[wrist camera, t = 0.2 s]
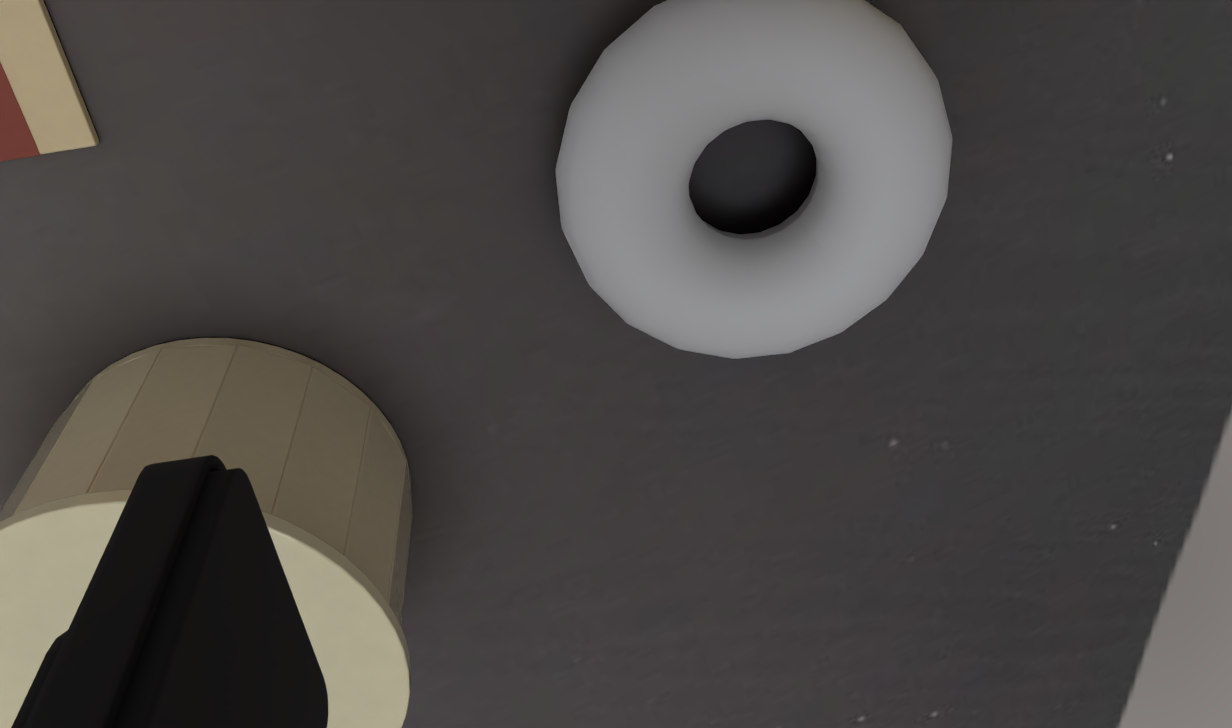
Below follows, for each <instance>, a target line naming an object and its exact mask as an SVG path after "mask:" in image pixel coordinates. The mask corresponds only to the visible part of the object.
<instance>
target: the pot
mask: <svg viewBox="0 0 1232 728" xmlns="http://www.w3.org/2000/svg"><path fill="white" fill-rule="evenodd" d="M208 455H214V456H217V457H218V458H219V459H220V460H221V461H222V462H223V463H224V465H225V467H226V469H227V470H228V469H234V468H240V469H243V470H244V471H245V473H246V474H247V476H248V478H249V480H250V482H251V485H252V487H253V490H254V493H255V495H256V498H257V501H258V503H259V506H260V509H261V510H262V511H264V512H267V513H269V514H271V515H274V516H276V517H279V518H281V519H284V520H286V521H288V522H291V523H293V524H295V525H296V526H298V527H300V528H302V529H304V530H306V531H307V532H309V533H311V534H313V535H315V536H317V537H318V538H320V539H321V540H323V541H324V542H326V543H327V544H329V545H330V546H331V547H333V548H334V549H336V550H337V551H339V552H340V553H342V554H343V555H344V556H345V557H346V558H348V559H349V560H350V561H351V562H352V563H353V564H354V565H355V566H357V567H358V568H359V569H360V570H361V571H362V572H363V573H364V574H365V575H366V576H367V577H368V578H369V579H370V581H371V582H372V583H373V584H374V585H375V586H376V588H377V589H378V590H379V591H380V592H381V593H382V595H383V596H384V598H385V599H386V601H387V603H388V604H389V606H390V607H391V609H392V611H393V612H394V614H395V615H396V617H397V620H398V622H399V625H400V626H401V617H402V608H403V598H404V589H405V580H406V571H407V561H408V552H409V543H410V533H411V524H412V515H413V509H412V501H411V476H410V471H409V466H408V461H407V458H406V455H405V453H404V450H403V447H402V445H401V442H400V440H399V438H398V437H397V435H396V433H395V431H394V429H393V428H392V426H391V424H390V423H389V422H388V420H387V419H386V418H385V416H384V415H383V414H382V412H381V411H380V410H379V408H378V407H377V406H376V405H375V404H374V403H373V402H372V401H371V400H370V399H369V398H368V397H367V396H366V395H365V394H364V393H363V392H362V391H361V390H359V389H358V388H357V387H356V386H354V385H353V384H352V383H351V382H349V381H348V380H347V379H345V378H344V377H342V376H341V375H339V374H338V373H336V372H334V371H333V370H331V369H329V368H328V367H326V366H325V365H323V364H320V363H318V362H316V361H314V360H312V359H310V358H308V357H306V356H303V355H301V354H298V353H295V352H292V351H289V350H287V349H284V348H281V347H277V346H273V345H269V344H264V343H260V342H256V341H249V340H241V339H232V338H196V339H186V340H178V341H173V342H169V343H164V344H159V345H155V346H152V347H149V348H147V349H144V350H141V351H138V352H135V353H132V354H131V355H129V356H127V357H125V358H123V359H121V360H119V361H117V362H115V363H113V364H111V365H110V366H109V367H107V368H106V369H104V370H103V371H101V372H100V373H99V374H97V375H96V376H95V377H94V378H93V379H91V380H90V381H89V382H88V383H87V384H86V385H85V386H84V387H83V388H82V389H81V390H80V391H79V393H78V394H77V395H76V397H75V398H74V399H73V401H72V402H71V404H70V405H69V406H68V408H67V409H66V410H65V411H64V412H63V413H62V415H61V416H60V417H59V418H58V419H57V420H56V422H55V423H54V425H53V427H52V428H51V430H50V432H49V433H48V435H47V437H46V438H45V440H44V442H43V443H42V445H41V446H40V448H39V450H38V451H37V453H36V455H35V456H34V458H33V460H32V461H31V463H30V465H29V466H28V468H27V469H26V471H25V473H24V474H23V476H22V478H21V479H20V481H19V483H18V484H17V486H16V488H15V489H14V491H13V493H12V494H11V496H10V497H9V499H8V501H7V502H6V504H5V506H4V507H3V509H2V511H1V512H0V522H1V521H3V520H5V519H7V518H9V517H11V516H13V515H15V514H17V513H19V512H21V511H23V510H26V509H29V508H32V507H35V506H38V505H41V504H43V503H46V502H49V501H52V500H56V499H61V498H66V497H70V496H75V495H80V494H84V493H92V492H101V491H111V490H121V489H133V487H134V485H135V483H136V481H137V478H138V476H139V474H140V473H141V471H142V470H143V468H144V467H145V466H147V465H150V464H154V463H161V462H167V461H174V460H181V459H188V458H195V457H201V456H208Z"/></svg>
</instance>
